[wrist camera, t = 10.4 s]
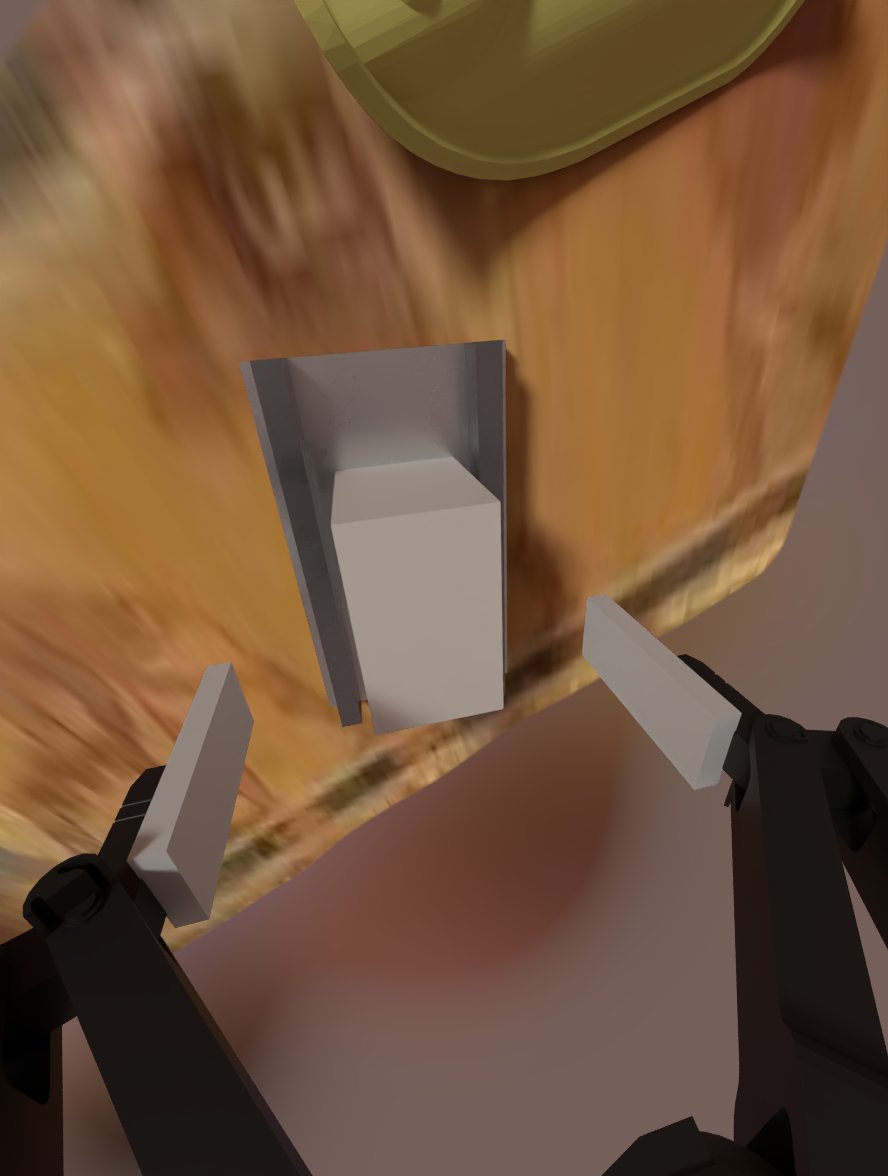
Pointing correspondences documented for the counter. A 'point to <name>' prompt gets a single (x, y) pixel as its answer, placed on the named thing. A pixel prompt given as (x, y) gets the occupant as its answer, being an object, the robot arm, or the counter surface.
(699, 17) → the plastic component
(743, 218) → the counter surface
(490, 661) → the block
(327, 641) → the grey channel bracket
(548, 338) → the counter surface
